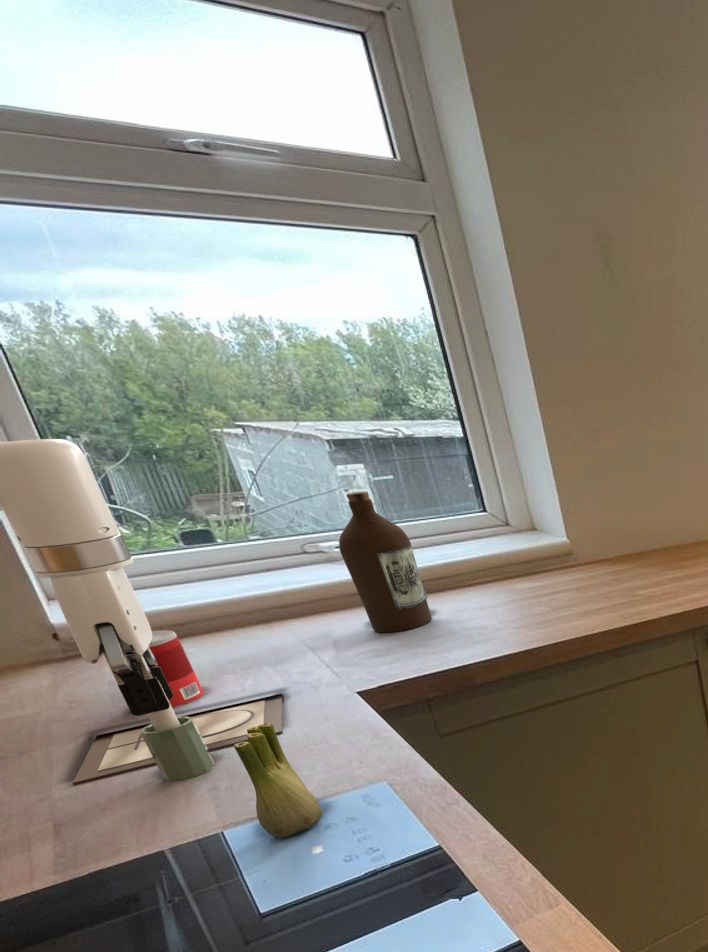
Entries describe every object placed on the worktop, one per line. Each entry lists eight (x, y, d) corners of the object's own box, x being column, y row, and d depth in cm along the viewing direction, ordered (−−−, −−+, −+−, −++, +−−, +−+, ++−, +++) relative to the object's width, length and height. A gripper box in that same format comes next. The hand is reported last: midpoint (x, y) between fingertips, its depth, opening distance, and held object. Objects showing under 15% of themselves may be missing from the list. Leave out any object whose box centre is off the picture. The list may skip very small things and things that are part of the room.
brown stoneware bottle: (355, 633, 151) (304, 498, 141) (403, 615, 161) (358, 487, 151) (403, 634, 149) (354, 498, 139) (449, 616, 159) (406, 487, 149)
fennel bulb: (289, 846, 85) (241, 744, 80) (250, 843, 86) (201, 742, 81) (339, 815, 90) (297, 718, 85) (302, 813, 91) (259, 717, 86)
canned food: (206, 692, 126) (174, 626, 122) (208, 706, 121) (175, 637, 117) (138, 708, 122) (102, 640, 117) (137, 723, 116) (100, 652, 112)
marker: (177, 777, 99) (131, 688, 94) (179, 771, 101) (133, 683, 96) (201, 771, 100) (157, 682, 96) (202, 765, 102) (159, 677, 97)
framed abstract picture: (75, 788, 99) (70, 781, 98) (99, 740, 112) (95, 733, 111) (284, 736, 110) (281, 729, 110) (283, 697, 123) (281, 691, 123)
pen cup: (165, 788, 98) (138, 736, 95) (168, 774, 101) (142, 724, 98) (215, 775, 100) (190, 724, 98) (217, 762, 104) (193, 713, 101)
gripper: (47, 549, 93) (120, 694, 101) (13, 576, 82) (99, 739, 89) (137, 538, 98) (201, 678, 105) (117, 563, 86) (191, 718, 93)
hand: (153, 704), depth 97 cm, fingers open, 3 cm apart
